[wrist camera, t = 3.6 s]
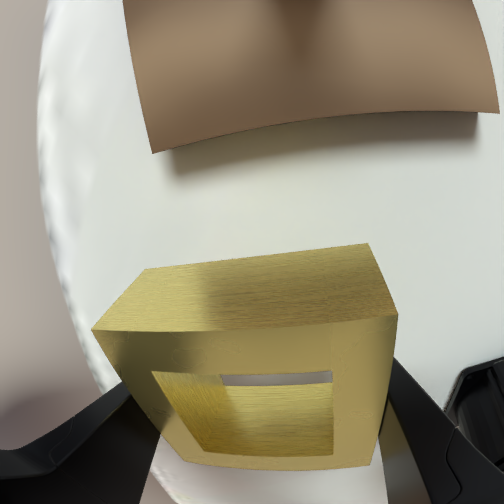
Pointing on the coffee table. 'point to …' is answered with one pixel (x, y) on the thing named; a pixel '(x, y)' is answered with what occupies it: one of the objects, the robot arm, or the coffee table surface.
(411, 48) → the brown base plate
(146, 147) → the coffee table surface
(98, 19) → the coffee table surface
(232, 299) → the brass square frame
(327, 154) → the coffee table surface
